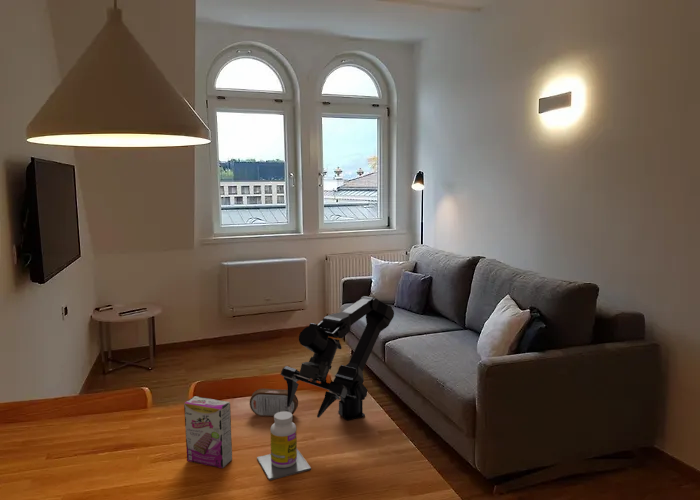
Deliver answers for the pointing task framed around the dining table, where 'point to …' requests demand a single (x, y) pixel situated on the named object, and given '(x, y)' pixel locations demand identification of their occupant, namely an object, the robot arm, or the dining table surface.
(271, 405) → the tin
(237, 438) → the dining table surface
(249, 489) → the dining table surface
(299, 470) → the slate coaster
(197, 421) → the candy bar box
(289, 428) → the supplement bottle
